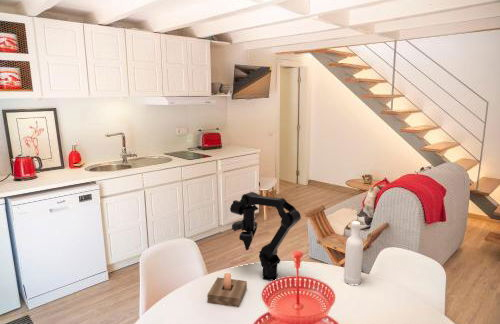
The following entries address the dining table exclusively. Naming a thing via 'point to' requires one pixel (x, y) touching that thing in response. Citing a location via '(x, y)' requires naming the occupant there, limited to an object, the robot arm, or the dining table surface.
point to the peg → (227, 281)
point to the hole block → (227, 293)
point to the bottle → (353, 256)
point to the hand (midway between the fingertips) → (248, 246)
